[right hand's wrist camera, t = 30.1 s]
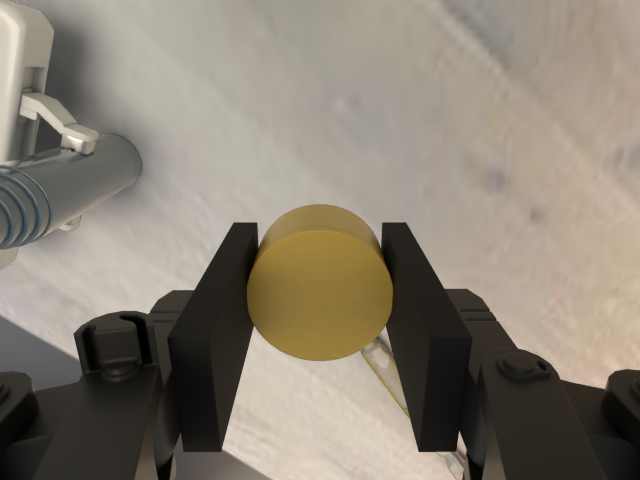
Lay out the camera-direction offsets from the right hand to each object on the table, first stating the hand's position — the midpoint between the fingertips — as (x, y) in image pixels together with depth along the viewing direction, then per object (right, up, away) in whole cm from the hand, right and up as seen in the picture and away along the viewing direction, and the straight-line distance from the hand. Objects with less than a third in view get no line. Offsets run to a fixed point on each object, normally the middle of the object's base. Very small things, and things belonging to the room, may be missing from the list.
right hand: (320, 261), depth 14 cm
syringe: (+11, -18, +34) cm, 40 cm away
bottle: (-18, +8, +24) cm, 31 cm away
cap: (0, -1, -2) cm, 2 cm away
